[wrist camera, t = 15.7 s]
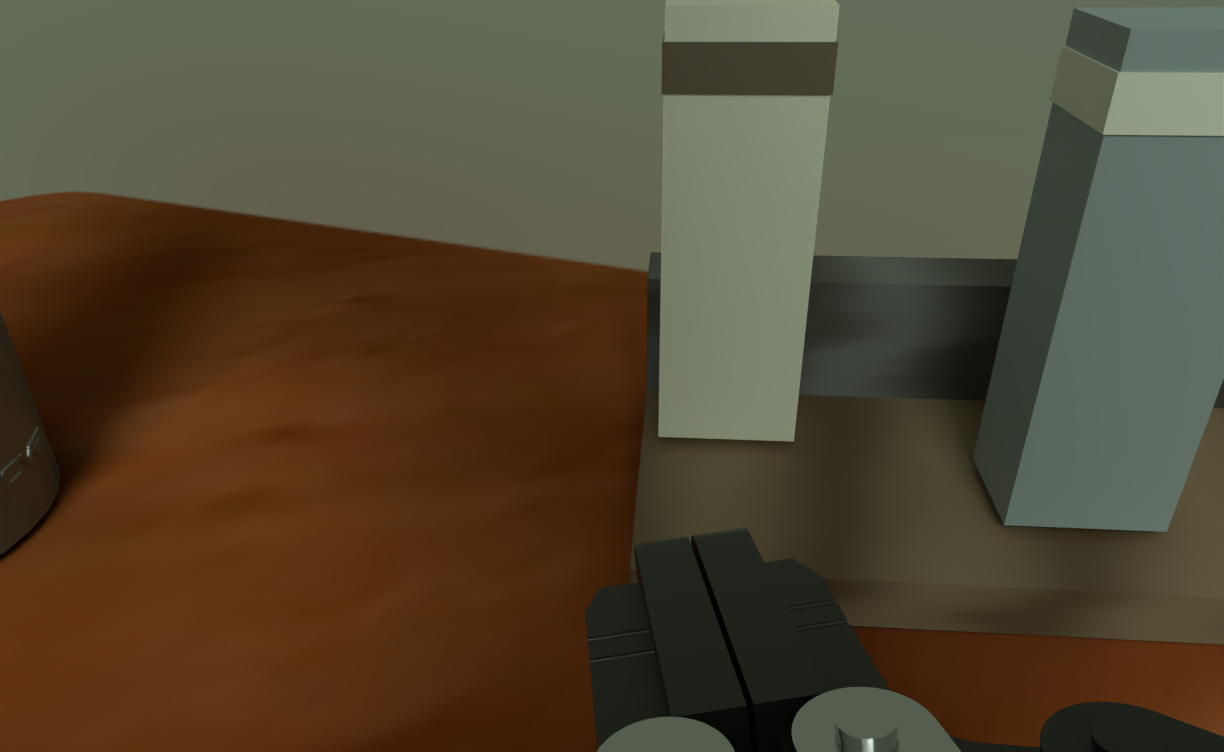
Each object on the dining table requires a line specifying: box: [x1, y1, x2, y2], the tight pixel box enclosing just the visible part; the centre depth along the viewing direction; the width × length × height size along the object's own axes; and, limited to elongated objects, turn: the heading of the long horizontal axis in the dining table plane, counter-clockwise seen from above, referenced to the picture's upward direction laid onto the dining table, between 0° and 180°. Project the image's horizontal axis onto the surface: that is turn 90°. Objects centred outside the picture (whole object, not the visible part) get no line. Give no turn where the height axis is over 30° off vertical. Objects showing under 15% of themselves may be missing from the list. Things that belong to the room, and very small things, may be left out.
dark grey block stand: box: [630, 253, 1224, 645], centre depth 25 cm, size 23×11×6 cm, turn 85°
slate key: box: [973, 8, 1224, 532], centre depth 21 cm, size 4×3×12 cm
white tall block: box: [658, 0, 839, 442], centre depth 25 cm, size 4×3×12 cm
